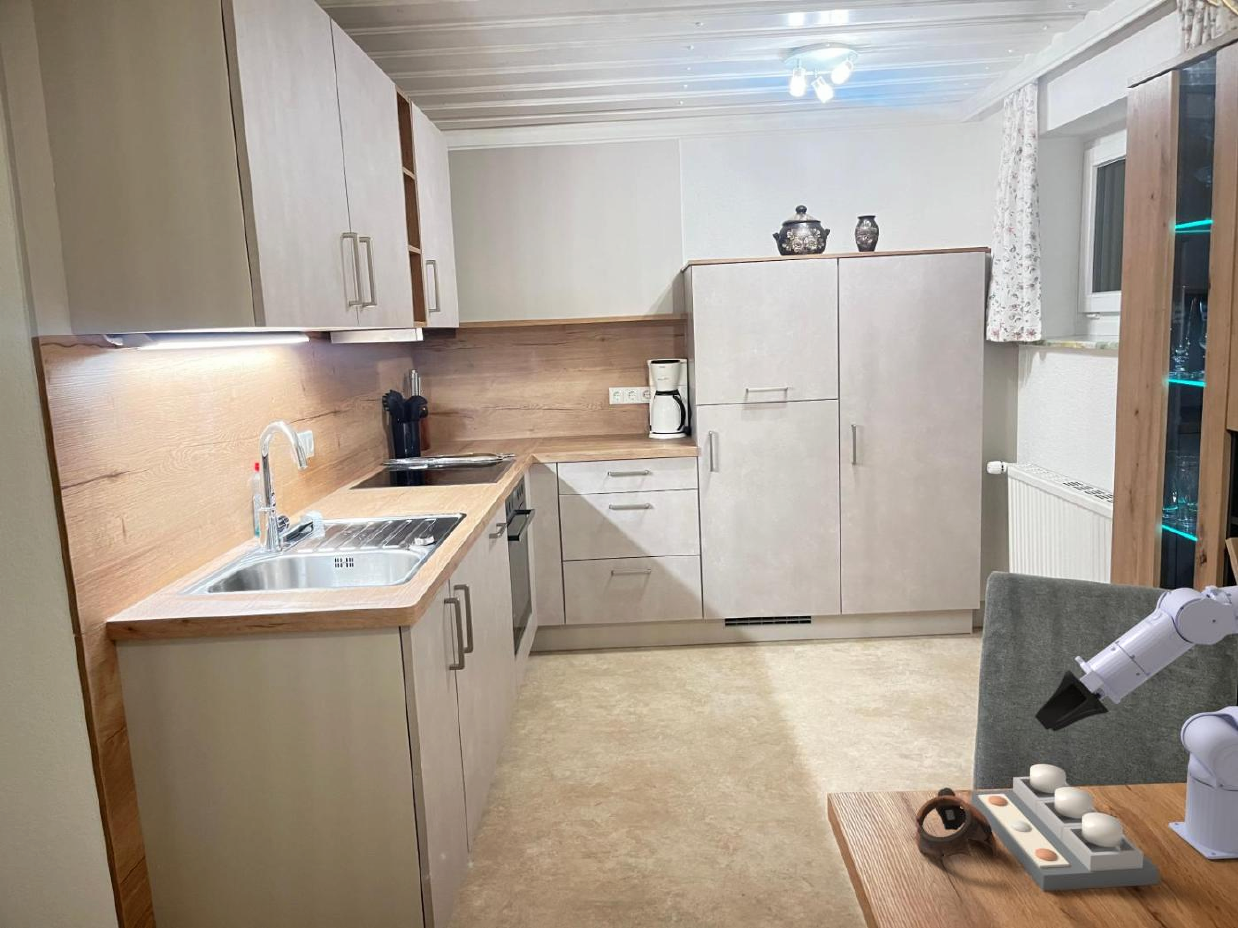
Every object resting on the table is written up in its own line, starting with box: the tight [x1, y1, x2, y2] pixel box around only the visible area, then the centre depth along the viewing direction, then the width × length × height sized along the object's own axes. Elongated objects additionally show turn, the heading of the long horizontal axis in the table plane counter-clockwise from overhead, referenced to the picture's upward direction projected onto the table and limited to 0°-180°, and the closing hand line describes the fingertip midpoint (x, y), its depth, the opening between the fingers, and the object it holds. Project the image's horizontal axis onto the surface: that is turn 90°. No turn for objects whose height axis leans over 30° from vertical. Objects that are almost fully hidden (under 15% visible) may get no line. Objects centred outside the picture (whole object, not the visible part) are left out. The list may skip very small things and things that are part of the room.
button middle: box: [1054, 786, 1094, 819], centre depth 116 cm, size 4×4×2 cm
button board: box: [970, 776, 1160, 892], centre depth 116 cm, size 14×20×4 cm
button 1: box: [1029, 763, 1067, 793], centre depth 123 cm, size 4×4×2 cm
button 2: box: [1082, 812, 1124, 847], centre depth 110 cm, size 4×4×2 cm
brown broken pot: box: [915, 786, 999, 860], centre depth 116 cm, size 12×10×8 cm
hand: (1044, 724), depth 117 cm, fingers open, 7 cm apart
